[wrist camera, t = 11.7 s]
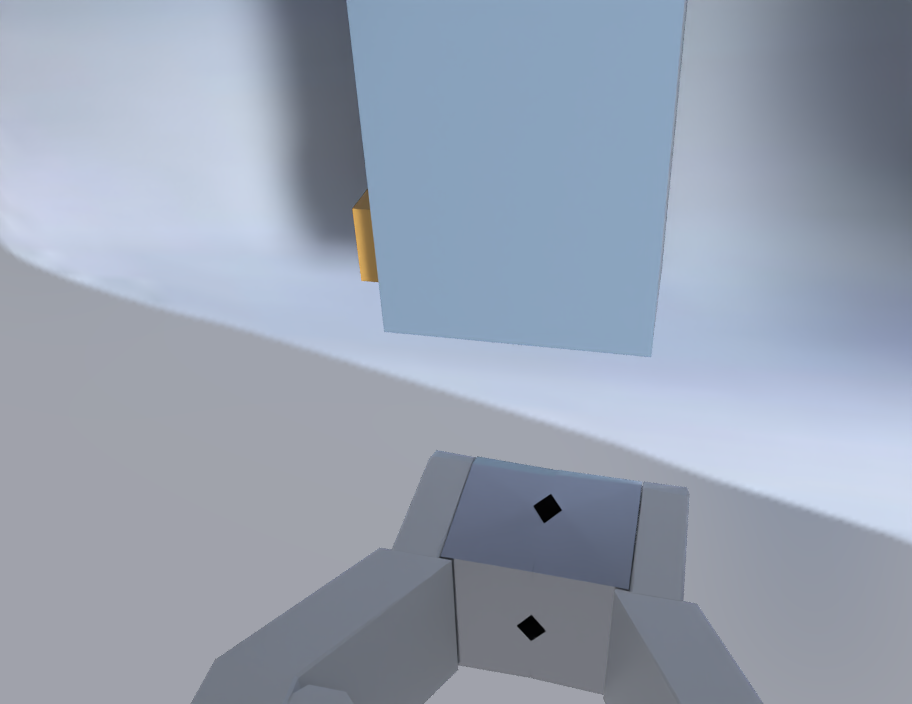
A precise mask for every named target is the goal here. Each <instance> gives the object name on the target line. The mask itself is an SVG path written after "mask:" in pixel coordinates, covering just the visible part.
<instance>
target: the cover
mask: <svg viewBox="0 0 912 704" xmlns="http://www.w3.org/2000/svg"><path fill="white" fill-rule="evenodd" d="M346 2H347V11H348V19H349V28H350V37H351V46H352V54H353V63H354V72H355V80H356V89H357V98H358V107H359V115H360V124H361V133H362V142H363V150H364V159H365V168H366V176H367V185H368V189H367V190H366V192H365V193H364V194H363V195H362V197H361V198H360V199H359V201H358V202H357V203H356V204H355V206H354V207H353V208H352V211H353V218H354V226H355V234H356V242H357V250H358V258H359V266H360V273H361V281H371V282H379V290H380V299H381V307H382V316H383V325H384V332H392V333H402V334H413V335H423V336H434V337H444V338H455V339H465V340H476V341H486V342H497V343H507V344H518V345H528V346H539V347H549V348H560V349H571V350H581V351H592V352H602V353H613V354H623V355H634V356H644V357H651V354H652V345H653V334H654V324H655V313H656V302H657V292H658V281H659V270H660V260H661V249H662V238H663V228H664V217H665V206H666V196H667V185H668V174H669V163H670V153H671V142H672V131H673V121H674V110H675V99H676V89H677V78H678V67H679V57H680V46H681V35H682V25H683V14H684V3H685V0H346Z"/></svg>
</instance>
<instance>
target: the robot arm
mask: <svg viewBox="0 0 912 704" xmlns="http://www.w3.org/2000/svg"><path fill="white" fill-rule="evenodd" d="M641 489H642V492H641ZM640 499H641V501H640ZM639 507H640V509H639ZM688 512H689V491H688V489H687V488H686V487H679V486H672V485H665V484H658V483H650V482H644V483H643V486H642V482H641V481H634V480H627V479H620V478H612V477H605V476H597V475H591V474H583V473H576V472H569V471H562V470H553V469H547V468H541V467H535V466H530V465H524V464H518V463H512V462H506V461H500V460H495V459H489V458H483V457H471V456H466V455H460V454H455V453H449V452H444V451H438V450H437V451H436V452H435V453H434V454H433V455H432V456H431V457H430V459H429V460H428V463H427V465H426V468H425V470H424V472H423V475H422V477H421V480H420V483H419V485H418V487H417V489H416V492H415V495H414V497H413V500H412V502H411V504H410V506H409V509H408V511H407V514H406V516H405V519H404V521H403V524H402V526H401V528H400V531H399V533H398V536H397V538H396V541H395V543H394V545H393V548H392V549H385V548H379V549H377V550H376V551H375V552H373V553H371V554H370V555H368V556H367V557H365V558H364V559H363V560H361V561H360V562H358V563H357V564H355V565H354V566H352V567H351V568H349V569H348V570H346V571H345V572H343V573H342V574H340V575H339V576H338V577H336V578H335V579H333V580H332V581H330V582H329V583H327V584H326V585H324V586H323V587H321V588H320V589H319V590H317V591H316V592H314V593H313V594H311V595H310V596H308V597H307V598H305V599H304V600H302V601H301V602H299V603H298V604H296V605H295V606H293V607H292V608H290V609H289V610H287V611H286V612H285V613H283V614H282V615H280V616H279V617H277V618H276V619H274V620H273V621H272V622H270V623H268V624H267V625H265V626H264V627H263V628H261V629H260V630H258V631H257V632H255V633H254V634H252V635H251V636H249V637H248V638H246V639H245V640H243V641H242V642H240V643H239V644H237V645H236V646H235V647H233V648H232V649H230V650H229V651H227V652H226V653H225V654H223V655H221V656H220V657H218V658H217V659H215V661H214V663H213V664H212V666H211V668H210V670H209V672H208V673H207V675H206V677H205V679H204V681H203V683H202V684H201V686H200V688H199V690H198V691H197V693H196V695H195V697H194V699H193V700H192V702H191V704H424V703H425V702H426V701H427V700H428V699H429V698H430V697H431V696H432V695H433V694H434V693H435V692H436V691H437V690H438V689H439V688H440V687H441V686H442V685H443V684H444V683H445V682H446V681H447V680H448V679H449V678H450V677H451V676H452V675H453V674H454V673H455V672H456V671H457V670H458V665H460V666H466V667H472V668H477V669H483V670H489V671H494V672H500V673H506V674H512V675H517V676H523V677H529V678H530V677H531V678H533V679H537V680H542V681H546V682H551V683H555V684H559V685H563V686H568V687H572V688H576V689H581V690H585V691H589V692H594V693H598V694H602V695H604V697H603V698H604V701H605V703H606V704H763V702H762V701H761V699H760V698H759V696H758V694H757V693H756V691H755V690H754V688H753V687H752V685H751V684H750V682H749V681H748V680H747V678H746V677H745V675H744V674H743V672H742V670H741V669H740V667H739V666H738V665H737V663H736V661H735V660H734V659H733V657H732V655H731V654H730V652H729V651H728V650H727V648H726V646H725V645H724V643H723V642H722V640H721V639H720V637H719V636H718V634H717V633H716V631H715V630H714V629H713V627H712V626H711V624H710V622H709V621H708V619H707V618H706V616H705V615H704V613H703V612H702V611H701V609H700V608H699V606H698V604H695V603H691V602H686V601H683V597H684V581H685V563H686V546H687V528H688ZM638 516H639V517H638ZM637 524H638V526H637ZM636 532H637V534H636ZM635 540H636V542H635Z"/></svg>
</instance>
